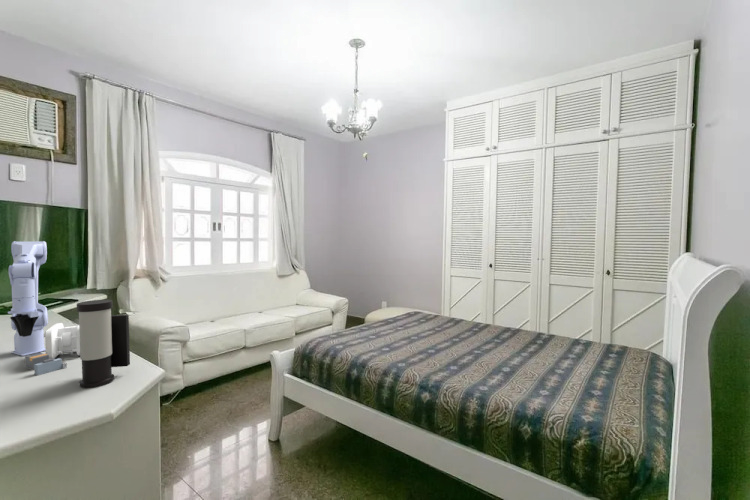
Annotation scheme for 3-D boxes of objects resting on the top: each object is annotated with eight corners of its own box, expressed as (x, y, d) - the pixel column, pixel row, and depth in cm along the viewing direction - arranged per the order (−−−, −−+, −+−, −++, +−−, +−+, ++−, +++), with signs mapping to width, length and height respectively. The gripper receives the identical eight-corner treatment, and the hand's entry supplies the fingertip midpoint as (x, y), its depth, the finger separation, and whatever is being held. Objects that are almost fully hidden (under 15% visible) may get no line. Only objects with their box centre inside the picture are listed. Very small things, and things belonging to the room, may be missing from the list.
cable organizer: (82, 358, 127) (81, 327, 127) (43, 363, 122) (42, 330, 122) (91, 347, 140) (90, 318, 140) (56, 351, 135) (55, 322, 135)
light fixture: (65, 390, 100) (62, 305, 99) (88, 375, 111) (86, 299, 110) (112, 386, 103) (109, 303, 102) (130, 372, 113) (128, 297, 112)
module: (25, 367, 118) (24, 356, 118) (40, 364, 122) (40, 352, 122) (33, 370, 116) (33, 358, 116) (49, 366, 119) (49, 354, 119)
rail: (36, 361, 124) (36, 356, 124) (39, 360, 125) (39, 355, 125) (63, 368, 117) (62, 364, 117) (66, 367, 118) (66, 363, 118)
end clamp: (34, 374, 112) (34, 362, 112) (59, 367, 118) (58, 356, 118) (37, 375, 111) (37, 363, 111) (62, 368, 117) (61, 357, 117)
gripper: (-2, 297, 121) (-1, 336, 121) (18, 300, 115) (19, 341, 115) (25, 294, 127) (26, 331, 127) (45, 297, 121) (47, 335, 121)
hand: (25, 335), depth 122 cm, fingers closed
